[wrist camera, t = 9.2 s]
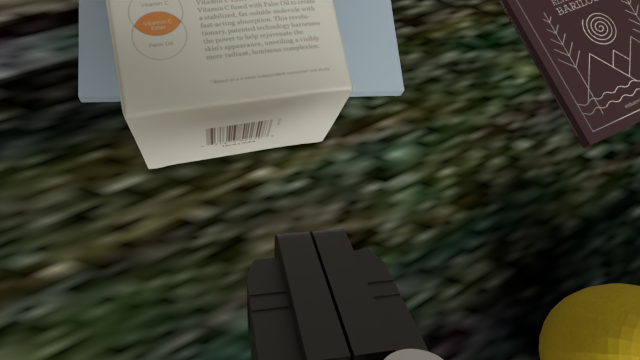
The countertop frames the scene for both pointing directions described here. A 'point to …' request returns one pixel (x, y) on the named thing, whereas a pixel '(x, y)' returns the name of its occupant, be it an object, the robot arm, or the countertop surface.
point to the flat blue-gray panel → (355, 28)
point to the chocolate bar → (585, 59)
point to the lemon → (594, 325)
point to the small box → (226, 74)
